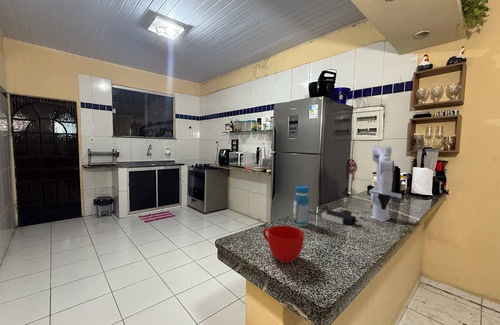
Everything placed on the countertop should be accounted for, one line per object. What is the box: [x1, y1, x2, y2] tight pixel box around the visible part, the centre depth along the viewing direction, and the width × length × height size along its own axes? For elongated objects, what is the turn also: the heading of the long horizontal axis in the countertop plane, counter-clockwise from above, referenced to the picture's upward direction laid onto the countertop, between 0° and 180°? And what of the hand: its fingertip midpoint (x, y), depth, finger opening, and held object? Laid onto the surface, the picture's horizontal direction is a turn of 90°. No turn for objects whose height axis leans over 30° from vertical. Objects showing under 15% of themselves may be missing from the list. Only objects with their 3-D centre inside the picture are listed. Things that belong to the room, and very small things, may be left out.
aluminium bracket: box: [321, 207, 362, 225], centre depth 131 cm, size 21×13×3 cm, turn 129°
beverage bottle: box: [292, 185, 311, 227], centre depth 118 cm, size 8×8×20 cm
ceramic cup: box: [262, 225, 305, 263], centre depth 83 cm, size 13×17×10 cm
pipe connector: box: [325, 209, 357, 226], centre depth 127 cm, size 12×5×15 cm
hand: (383, 209), depth 117 cm, fingers closed
